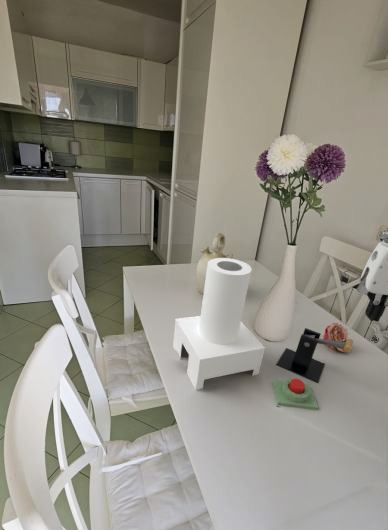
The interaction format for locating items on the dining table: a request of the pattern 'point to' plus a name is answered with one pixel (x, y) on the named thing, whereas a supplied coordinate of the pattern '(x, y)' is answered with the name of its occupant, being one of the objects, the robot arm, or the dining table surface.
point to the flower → (336, 335)
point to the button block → (293, 395)
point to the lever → (334, 342)
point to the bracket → (303, 358)
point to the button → (297, 386)
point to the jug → (208, 256)
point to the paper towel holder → (220, 326)
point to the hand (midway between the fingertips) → (371, 317)
